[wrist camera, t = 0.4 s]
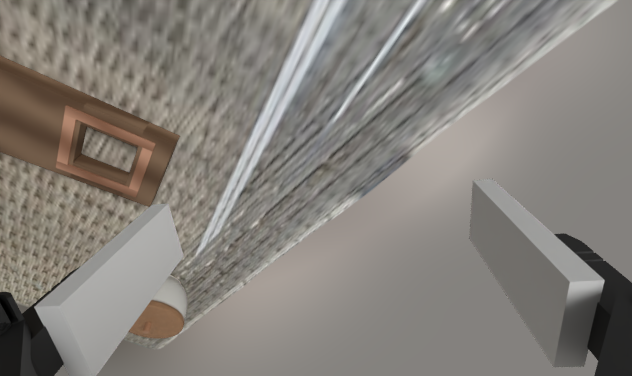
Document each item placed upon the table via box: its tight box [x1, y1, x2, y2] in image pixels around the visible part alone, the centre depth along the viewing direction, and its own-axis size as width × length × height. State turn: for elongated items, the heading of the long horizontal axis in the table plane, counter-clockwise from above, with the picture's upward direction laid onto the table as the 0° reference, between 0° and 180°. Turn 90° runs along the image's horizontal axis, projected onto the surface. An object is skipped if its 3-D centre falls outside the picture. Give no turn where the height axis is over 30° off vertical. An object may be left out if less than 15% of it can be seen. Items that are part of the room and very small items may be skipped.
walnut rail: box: [0, 56, 180, 207], centre depth 41 cm, size 12×34×2 cm, turn 59°
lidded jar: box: [129, 275, 188, 338], centre depth 61 cm, size 11×11×9 cm
